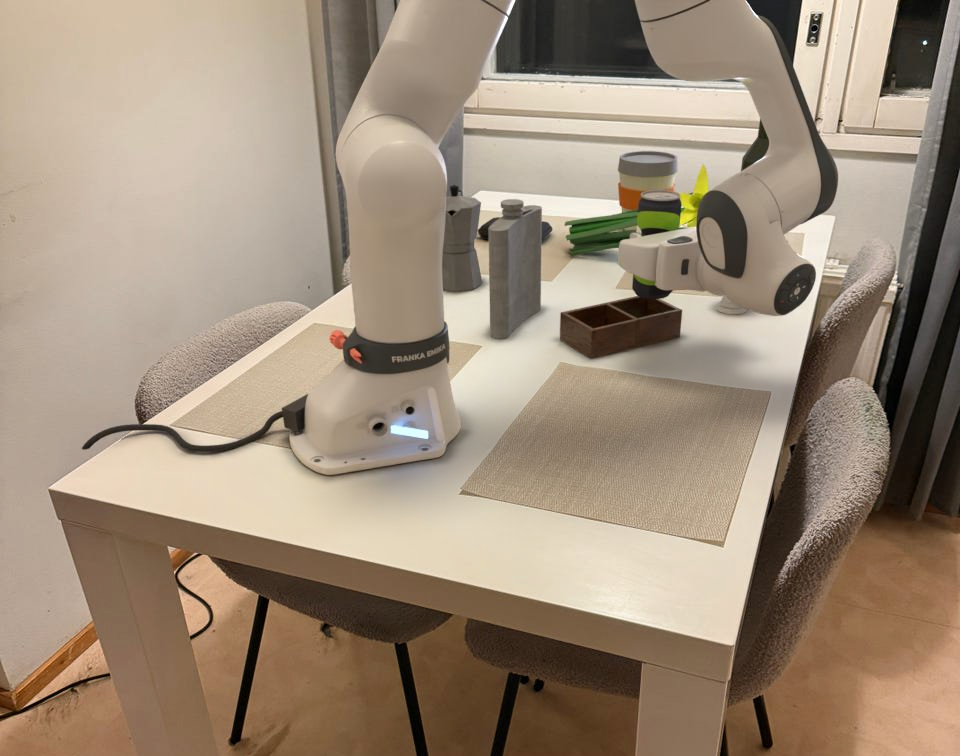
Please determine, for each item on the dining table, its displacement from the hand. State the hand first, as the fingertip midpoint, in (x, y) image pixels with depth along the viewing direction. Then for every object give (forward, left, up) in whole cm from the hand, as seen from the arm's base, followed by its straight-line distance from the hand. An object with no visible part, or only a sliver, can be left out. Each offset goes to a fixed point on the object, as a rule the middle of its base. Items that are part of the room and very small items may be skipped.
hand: (652, 234), depth 135 cm
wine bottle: (+50, +30, -17) cm, 61 cm away
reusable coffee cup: (+38, +51, -17) cm, 66 cm away
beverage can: (0, -1, -9) cm, 9 cm away
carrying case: (+11, +60, -17) cm, 64 cm away
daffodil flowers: (+23, +32, -17) cm, 43 cm away
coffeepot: (-13, +40, -17) cm, 46 cm away
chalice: (+21, +3, -17) cm, 27 cm away
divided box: (-3, +2, -17) cm, 17 cm away
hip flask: (-14, +17, -17) cm, 28 cm away
